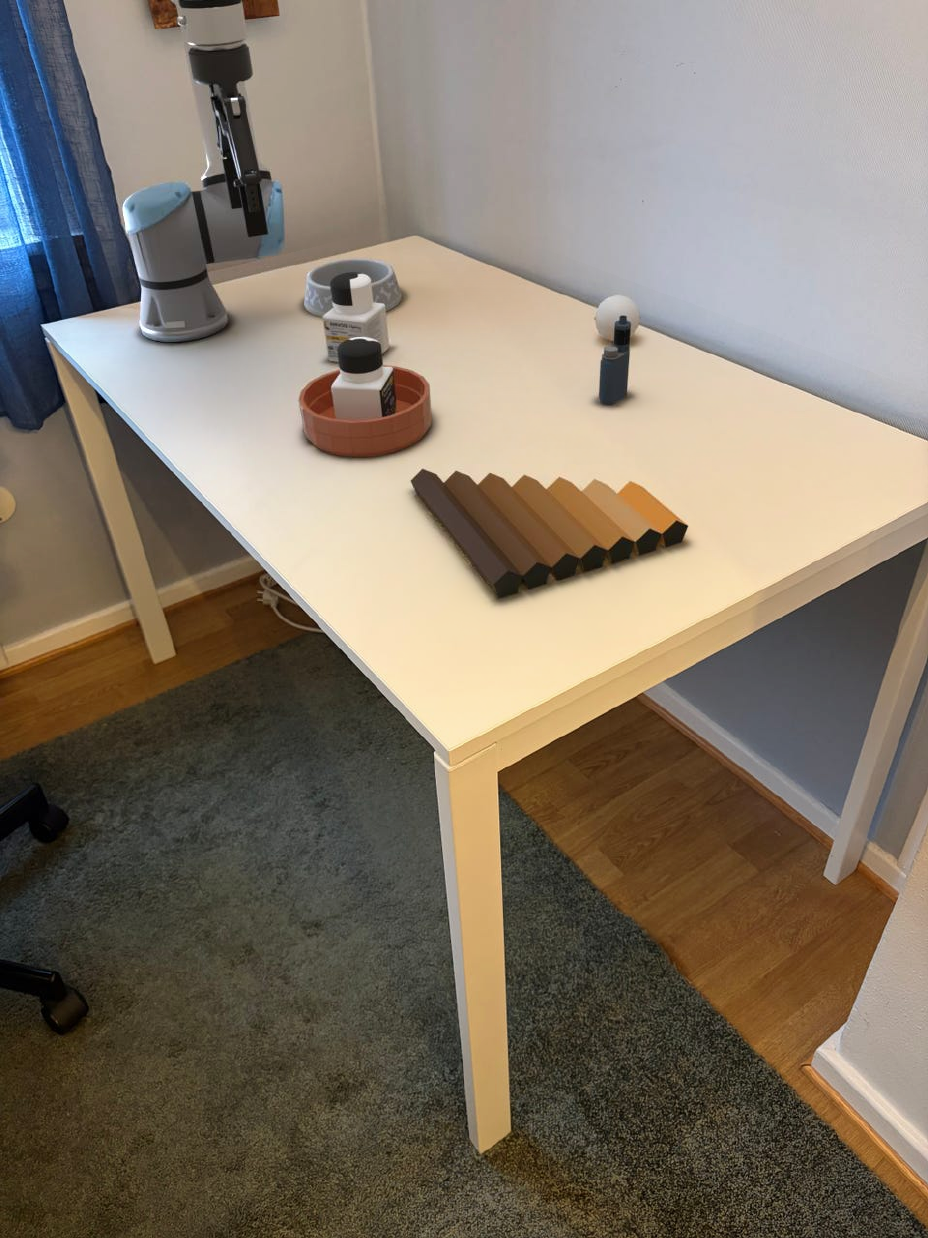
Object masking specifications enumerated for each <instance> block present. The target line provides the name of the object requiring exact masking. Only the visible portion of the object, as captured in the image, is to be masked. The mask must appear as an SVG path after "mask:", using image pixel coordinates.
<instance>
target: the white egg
mask: <svg viewBox="0 0 928 1238" xmlns="http://www.w3.org/2000/svg"><path fill="white" fill-rule="evenodd" d="M593 307H594V308H597V309H596V311H595V316H594V319H593V320H594V321H595V328H596V330H597V332H598V334H599V335H600V336H602V337H603V338H604V339H606V340H607V341H611V342H614V328H615V327H614V325H615V322H616V321H619V317H620V316H623V315H624V316H627V321H629V322H631V333H630V337H632V336H633V335H634V334H635V333H636V331H637V330H638V328H639V326H640V322H641V321H640V320H641V315H640V309H639V308H638V305H637V303H636V302H635V301H634V300H633V299H631V297H629V296H625V295H624V294H614V295H611V296H609V297H606V298H605V299H604V300H603V301H601V302H600V304H599V306H595V305H593Z"/></svg>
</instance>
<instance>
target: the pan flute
mask: <svg viewBox="0 0 928 1238" xmlns="http://www.w3.org/2000/svg"><path fill="white" fill-rule="evenodd" d="M410 483H411V485H412V487H413V489H414V491H415V493H416V495H417V496H418V498H419V499H420V500H421V502H422V503H423V504H424V505H425V507H427V509H428V510H429V511H430V513H431V514H432V515H433V516H434V518H435V519H436V521H438V523H439V524H440V525H441V526H442V528H443V529H444V530H445V531H446V533H447V534H448V535H449V537H450V538H451V539H452V541H453V542H454V543H455V544H456V546H457V547H458V548H459V550H461V552H462V553H463V554H464V556H465V557H466V558H467V559H468V561H469V562H470V564H471V565H472V566H473V567H474V568H475V570H476V571H477V572H478V573H479V575H480V576H481V577H482V578H483V580H484V581H485V582H486V584H487V585H488V586H489V587H490V588H491V590H492V591H493V592H494V593H495V595H496V596H497V597H498V598H499V599H502V598H506V597H509V596H511V595H512V596H513V595H515V594H518V592H519V590H520V586H521V583H522V584H523V585H524V586H525V588H527V589H528V590H531V589H535V588H538V587H542V586H544V585H547V583H548V580H549V577H550V575H551V576H552V577H553V578H554V580H556V581H557V582H558V581H560V580H565V579H567V578H571V577H574V576H575V575H576V572H577V569H578V567H579V568H580V569H581V570H582V571H583V572H584V573H587V572H590V571H594V570H597V569H600V568H602V567H603V565H604V562H605V560H608V561H609V562H610V563H611V564H615V563H620V562H623V561H626V560H629V559H630V557H631V554H632V552H635V553H636V554H637V555H638V556H642V555H646V554H649V553H652V552H656V551H657V548H658V547H659V543H660V544H662V545H663V546H664V547H665V548H668V547H671V546H675V545H678V544H681V543H683V540H684V538H685V536H686V534H687V531H688V528H689V524H687V523H686V522H685V521H683V520H682V519H681V518H680V517H679V516H678V515H677V514H676V513H674V512H673V511H672V510H671V509H670V508H668V507H667V506H666V505H665V504H664V503H662V502H661V501H660V500H659V499H658V498H656V497H655V496H654V495H653V494H652V493H651V492H649V491H648V490H647V489H646V488H645V487H644V486H642V485H640V484H637V483H636V482H634V481H631V480H630V481H629V482H627V483H626V484H625V485H624V487H622V488H621V489H620V490H619V491H618V492H616V491H615V490H614V489H613V488H612V487H611V486H609V485H608V484H607V483H605V482H602V481H600V480H598V479H595V478H593V480H591V481H590V483H588V485H586V486H585V487H584V488H583V489H582V490H581V489H580V488H578V487H577V485H575V484H574V483H573V482H572V481H569V480H568V479H565V478H564V477H561V476H558V477H557V478H556V479H555V480H554V481H553V482H552V483H551V484H550V485H549V486H548V487H547V488H546V487H545V485H543V484H542V483H541V482H540V481H538V480H537V479H536V478H533V477H531V476H529V475H526V474H523V475H522V476H521V477H520V478H519V479H518V480H517V481H516V482H515V483H514V484H513V485H510V484H509V482H507V481H506V479H505V478H504V477H501V476H499V475H497V474H495V473H492V472H489V473H488V474H487V475H486V476H484V477H483V478H482V480H481V481H480V482H478V484H477V483H476V481H475V480H474V479H473V478H472V477H471V476H470V475H469V474H465V473H463V472H461V471H458V470H455V471H453V473H452V474H451V475H450V476H449V477H447V479H446V480H444V481H443V480H442V479H441V477H439V475H438V474H437V473H435V472H433V471H431V470H428V469H425V468H421V469H420V470H419V471H418V472H417V473H416V474H415V475H414V477H412V478H411V479H410Z"/></svg>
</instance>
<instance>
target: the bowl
mask: <svg viewBox="0 0 928 1238" xmlns="http://www.w3.org/2000/svg"><path fill="white" fill-rule="evenodd" d="M383 367H392V368H393V373H394V383H395V394H396V404H397V413H395V414H393V415H390V416H385V417H380V418H375V419H368V420H342V419H336V417H335V410H334V403H333V396H332V389H331V386H332V384H333V383H334V382H335V380H336V379H337V377H338V376H339V374H340V368H339V369H337V370H334V371H330V372H327V373H325V374H322V375H320V376H318V377H316V378H314V379H313V380H311V381H310V382H308V383H307V384H306V385H305V386H304V387H303V388H302V389H301V390H300V393H299V397H298V400H297V401H298V406H299V413H300V419H301V425H302V430H303V432H304V434H305V437H306V439H307V440H308V441H310V443H311V444H312V445H313V446H315V447H316V448H317V449H319V450H321V451H323V452H325V453H327V454H331V455H336V456H342V457H349V458H350V457H351V458H363V457H366V458H367V457H368V458H369V457H376V456H377V457H378V456H382V455H387V454H391V453H395V452H399V451H401V450H403V449H407V448H408V447H410V446H412V445H414V444H415V443H417V442H418V441H419V440H421V439H422V438H423V437H424V436H425V435H426V433H427V431H428V430H429V428H430V427H431V425H432V421H433V420H432V419H433V418H432V416H433V413H432V412H433V411H432V400H431V386H430V383H429V382H428V380H427V379H426V378H425V376H423V375H421V374H420V373H418V372H416V371H414V370H411V369H408V368H404V367H401V366H396V365H385V364H383Z"/></svg>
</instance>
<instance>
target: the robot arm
mask: <svg viewBox="0 0 928 1238" xmlns="http://www.w3.org/2000/svg"><path fill="white" fill-rule="evenodd" d="M170 1H171V2H172V3H173V4H174V5H175V7H176V13H177V17H176V22H177V24H178V25H179V27H180V33H181V38H182V42H183V47H184V53H185V58H186V63H187V69H188V73H189V77H190V82H191V87H192V93H193V97H194V102H195V107H196V112H197V117H198V122H199V127H200V133H201V138H202V142H203V147H204V148H203V149H204V153H205V157H206V163H207V169H206V170H205V172H204V173H203V175H202V176H201V178H200V179H201V183H202V188H203V189H202V190H193V191H192V188H191V187H190V185H189V183H187V182H185V181H167V182H162V183H157V184H154V185H151V186H147V187H144V188H142V189H140V190H137V191H136V192H134V193H133V194H131V195H130V196H128V197H127V198H126V199H125V201H124V202H123V204H122V213H123V214H122V215H123V219H124V223H125V229H124V230H125V233H126V234H127V235H128V239H129V243H130V246H131V251H132V255H133V259H134V263H135V267H136V272H137V275H138V276H137V277H138V279H139V283H140V288H141V295H140V309H139V311H140V312H139V326H140V329H141V333H142V335H143V336H144V337H145V338H147V339H149V340H151V341H155V342H163V343H178V342H179V343H181V342H187V341H194V340H199V339H203V338H206V337H210V336H211V335H214V334H216V333H217V332H219V331H221V330H222V329H224V328H225V327H227V324H228V322H229V318H228V313H227V308H226V307H225V305H224V304H223V301H222V300H221V298H220V296H219V294H218V292H217V291H216V289H215V287H214V286H213V284H212V281H211V280H210V277H209V273H208V269H207V265H210V264H211V265H212V264H219V263H228V262H235V261H236V262H237V261H244V260H252V259H256V260H257V259H261V258H266V257H271V256H276V255H278V254H281V252H282V251H283V249H284V247H285V242H286V241H285V240H286V239H285V236H286V234H285V233H286V232H285V207H284V196H283V186H282V183H281V182H279V181H277V180H272V174H271V170H270V169H269V168H268V167H267V166H265V165H264V164H263V163H262V162H261V161H260V158H259V154H258V148H257V142H256V137H255V131H254V127H253V121H252V114H251V109H250V105H249V98H248V92H247V87H246V81H248V80H250V79H252V77H253V75H254V72H253V70H254V69H253V65H252V59H251V58H252V57H251V53H250V47H249V46H248V44H246V43H244V41H246V40H247V38H248V31H247V25H246V19H245V11H244V5H243V1H242V0H170Z"/></svg>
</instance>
